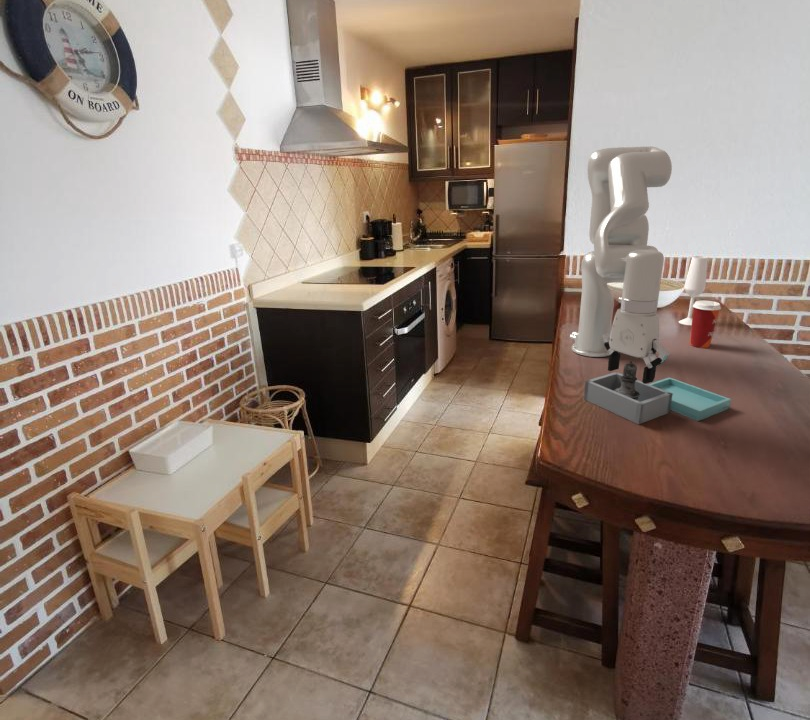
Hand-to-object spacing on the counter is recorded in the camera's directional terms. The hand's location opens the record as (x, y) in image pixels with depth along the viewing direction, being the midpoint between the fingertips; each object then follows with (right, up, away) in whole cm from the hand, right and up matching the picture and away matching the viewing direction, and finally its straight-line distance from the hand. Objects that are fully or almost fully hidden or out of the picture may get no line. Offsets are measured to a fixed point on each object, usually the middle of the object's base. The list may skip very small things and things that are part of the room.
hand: (629, 375), depth 119 cm
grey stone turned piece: (0, -8, +3) cm, 8 cm away
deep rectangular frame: (0, -7, +3) cm, 8 cm away
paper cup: (+41, +8, +42) cm, 60 cm away
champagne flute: (+51, +17, +65) cm, 84 cm away
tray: (+15, -7, +4) cm, 17 cm away
